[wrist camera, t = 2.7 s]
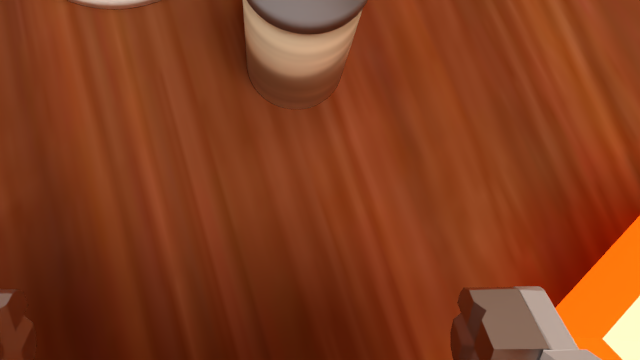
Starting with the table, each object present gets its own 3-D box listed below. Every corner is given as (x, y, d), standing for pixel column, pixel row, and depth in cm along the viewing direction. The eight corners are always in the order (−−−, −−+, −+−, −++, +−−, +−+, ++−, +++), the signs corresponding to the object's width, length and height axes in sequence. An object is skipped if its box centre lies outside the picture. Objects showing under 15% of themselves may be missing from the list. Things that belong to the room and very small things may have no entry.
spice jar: (316, 128, 29) (340, 44, 20) (227, 82, 29) (210, -21, 20) (360, 46, 30) (400, -66, 21) (273, 3, 30) (277, -127, 21)
